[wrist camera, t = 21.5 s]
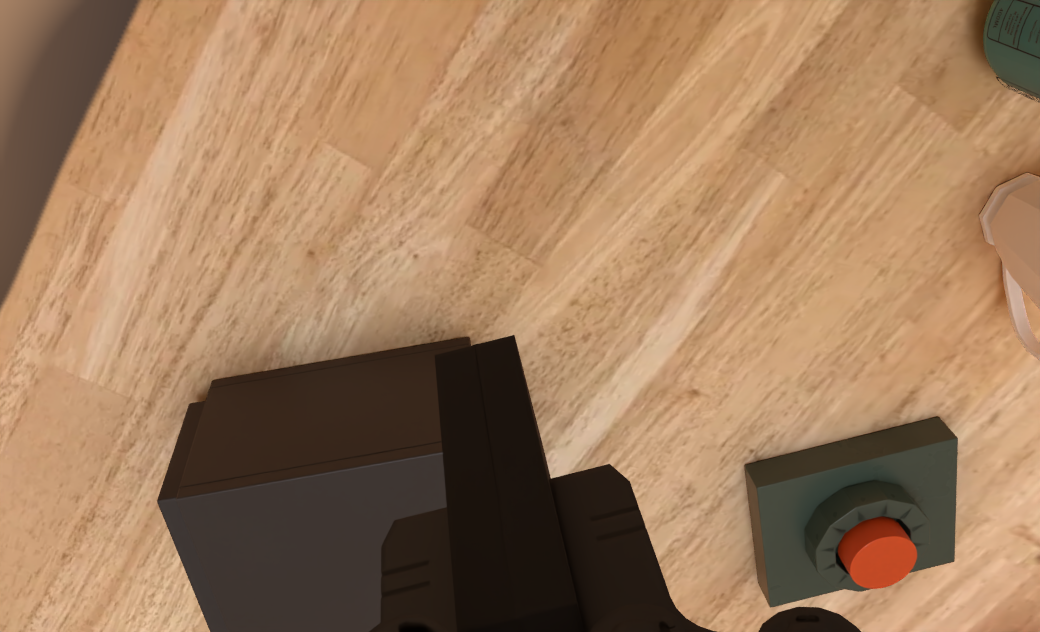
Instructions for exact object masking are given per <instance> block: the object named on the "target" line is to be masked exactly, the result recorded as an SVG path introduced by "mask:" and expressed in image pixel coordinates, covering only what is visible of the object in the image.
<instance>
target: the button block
mask: <svg viewBox="0 0 1040 632" xmlns="http://www.w3.org/2000/svg"><path fill="white" fill-rule="evenodd" d="M957 444H958V438H957V437H956V436H955V434H954V433H953V432H952V431H951V430H950V429H949V428H948V427H947V426H946V424H945V423H944V422H943V421H942V420H941V419H940V418H939V417H935V418H931V419H927V420H923V421H919V422H915V423H911V424H907V425H903V426H899V427H895V428H891V429H887V430H883V431H879V432H875V433H871V434H867V435H863V436H859V437H855V438H851V439H847V440H843V441H839V442H835V443H831V444H827V445H823V446H819V447H815V448H811V449H807V450H803V451H799V452H795V453H791V454H787V455H783V456H779V457H775V458H771V459H767V460H763V461H759V462H755V463H751V464H747V465H745V474H746V483H747V491H748V499H749V508H750V516H751V525H752V533H753V542H754V550H755V558H756V567H757V575H758V583H759V585H760V587H761V589H762V591H763V594H764V596H765V598H766V600H767V602H768V604H769V606H770V607H775V606H779V605H783V604H787V603H791V602H795V601H799V600H803V599H807V598H811V597H815V596H819V595H823V594H827V593H831V592H835V591H839V590H843V589H847V590H853V591H860V592H861V591H865V590H869V589H871V588H865V587H862V586H860V585H858V584H857V583H855V582H854V581H853V579H852V578H851V576H850V574H849V573H848V571H847V569H846V568H845V566H844V564H843V563H842V561H841V559H840V558H839V555H838V544H839V542H840V541H841V539H842V537H843V536H844V534H845V533H846V532H848V531H849V530H850V529H852V528H853V527H855V526H856V525H857V524H859V523H860V522H862V521H864V520H868V519H872V518H876V517H880V516H883V517H889V518H891V519H894V520H895V521H897V522H898V523H899V524H900V525H901V527H902V528H903V530H904V531H905V532H906V534H907V535H908V537H909V538H910V539H911V541H912V542H913V544H914V545H915V547H916V550H917V559H916V563H915V565H914V567H913V568H912V570H911V571H910V572H909V573H911V572H915V571H919V570H923V569H927V568H931V567H935V566H939V565H943V564H947V563H951V562H954V556H955V519H956V482H957Z"/></svg>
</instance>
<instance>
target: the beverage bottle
mask: <svg viewBox="0 0 1040 632" xmlns="http://www.w3.org/2000/svg"><path fill="white" fill-rule="evenodd" d="M983 46H984V52H985V56H986V59H987V61H988V63H989V65H990V67H991V68H992V69H993V71H994V72H995V73H996V75H997V76H998V77H996V78H997V79H998V78H1000V79H1001V80H1002V81H1003V82H1005V83H1006V84H1008V86H1011V87H1012V88H1013V87H1014V88H1016V90H1017V89H1018V90H1020V91H1023V92H1025V94H1026V93H1027V94H1030V95H1032V96H1034V97H1036V98H1039V99H1040V0H994V2H993V4H992V6H991V8H990V10H989V13H988V15H987V18H986V22H985V26H984V32H983ZM998 81H999V80H998ZM999 82H1000V81H999ZM1000 83H1001V82H1000ZM1001 84H1002V83H1001ZM1002 85H1003V84H1002ZM1006 88H1007V87H1006ZM1008 88H1009V87H1008ZM1009 90H1010V88H1009ZM1014 90H1015V89H1014ZM1016 90H1015V91H1016ZM1018 90H1017V91H1018ZM1012 91H1013V90H1012ZM1017 91H1016V93H1017ZM1013 92H1014V91H1013ZM1018 92H1019V91H1018ZM1018 94H1021V93H1018ZM1022 94H1023V93H1022ZM1027 94H1026V97H1027V98H1028V96H1029V95H1027ZM1023 95H1024V94H1023ZM1029 99H1032V98H1031V97H1030V96H1029ZM1034 101H1035V100H1034ZM1036 101H1037V100H1036ZM1038 102H1039V101H1038ZM1039 103H1040V102H1039Z"/></svg>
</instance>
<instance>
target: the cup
mask: <svg viewBox="0 0 1040 632" xmlns="http://www.w3.org/2000/svg"><path fill="white" fill-rule="evenodd" d="M979 217H980V222H981V226H982V230H983V234H984V238H985V241H986V242H987V243H988V244H991V245H994V246H995V248H996V252H997V254H998V255H999V257H1000V259H1001V260H1002V269H1003V282H1004V288H1005V294H1006V299H1007V305H1008V310H1009V314H1010V319H1011V322H1012V325H1013V328H1014V331H1015V333H1016V336H1017V338H1018V339H1019V341H1020V342H1021V344H1022V345H1023V346H1024V348H1025V349H1026V351H1027V352H1029V353H1030V354H1031V355H1033V356H1034V357H1036V358H1037V359H1038V360H1040V342H1039V341H1038V340H1037V338H1036V337H1035V335H1034V334H1033V332H1032V330H1031V327H1030V324H1029V321H1028V318H1027V314H1026V310H1025V305H1024V300H1023V295H1022V290H1021V288H1022V289H1023V291H1024V292H1025V293H1026V294H1027V295H1028V296H1029V297H1030V299H1031V300H1032V301H1033V302H1034V303H1035V305H1036V306H1037V307H1038V308H1039V310H1040V177H1039V176H1036V175H1033V174H1030V173H1025V174H1022V175H1020V176H1018V177H1016V178H1014V179H1012V180H1010V181H1008V182H1005V183H1003V184H1001V185H999V186H997V187H996V188H995V190H994V191H993V193H992V195H991V196H990V198H989V200H988V201H987V203H986V205H985V206H984V208H983V210H982V211H981V213H980V215H979Z"/></svg>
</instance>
